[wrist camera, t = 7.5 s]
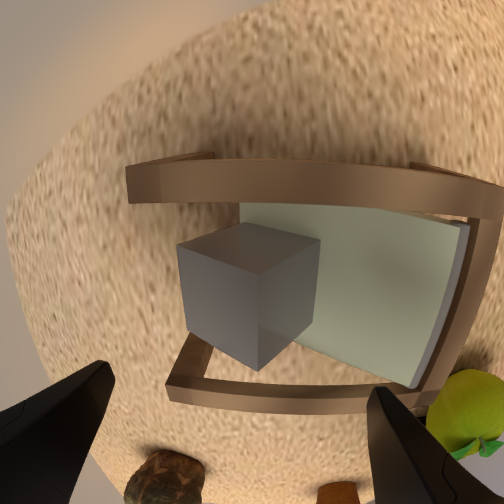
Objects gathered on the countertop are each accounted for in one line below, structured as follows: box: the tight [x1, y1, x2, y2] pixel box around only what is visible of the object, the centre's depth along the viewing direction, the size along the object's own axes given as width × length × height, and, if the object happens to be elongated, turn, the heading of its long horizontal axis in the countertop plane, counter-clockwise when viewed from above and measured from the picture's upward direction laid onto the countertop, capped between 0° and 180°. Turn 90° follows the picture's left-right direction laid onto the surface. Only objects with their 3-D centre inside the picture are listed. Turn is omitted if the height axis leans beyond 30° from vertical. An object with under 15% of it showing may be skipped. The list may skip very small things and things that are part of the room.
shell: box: [124, 451, 205, 504], centre depth 29 cm, size 11×11×12 cm
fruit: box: [426, 369, 504, 461], centre depth 18 cm, size 9×9×10 cm
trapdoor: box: [239, 202, 471, 389], centre depth 15 cm, size 12×9×1 cm
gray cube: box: [176, 222, 321, 372], centre depth 15 cm, size 5×5×5 cm
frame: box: [125, 152, 504, 415], centre depth 16 cm, size 16×13×8 cm
